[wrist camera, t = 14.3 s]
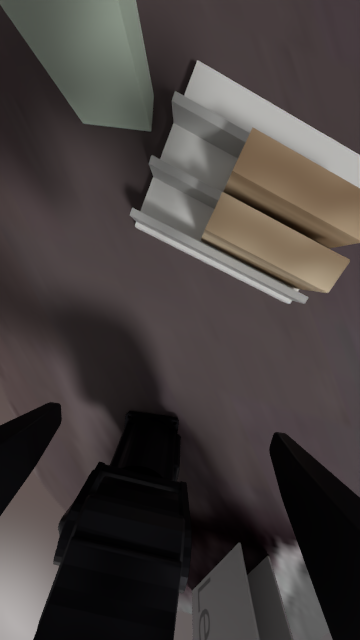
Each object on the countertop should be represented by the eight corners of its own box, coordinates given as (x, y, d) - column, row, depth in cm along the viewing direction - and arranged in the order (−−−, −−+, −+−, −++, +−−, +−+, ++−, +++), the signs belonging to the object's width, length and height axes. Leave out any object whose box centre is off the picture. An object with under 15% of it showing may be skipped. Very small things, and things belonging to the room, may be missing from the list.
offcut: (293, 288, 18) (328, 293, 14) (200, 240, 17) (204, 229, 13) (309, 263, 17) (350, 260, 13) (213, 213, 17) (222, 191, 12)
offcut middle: (317, 250, 17) (362, 242, 13) (220, 198, 16) (232, 170, 12) (335, 222, 16) (388, 204, 12) (234, 167, 16) (252, 127, 11)
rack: (284, 302, 19) (301, 307, 16) (137, 228, 18) (127, 220, 15) (366, 172, 16) (405, 149, 13) (196, 73, 15) (198, 26, 12)
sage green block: (151, 131, 16) (80, -143, 6) (83, 123, 16) (-118, -164, 6) (153, 95, 16) (80, -293, 5) (82, 87, 16) (-143, -315, 5)
